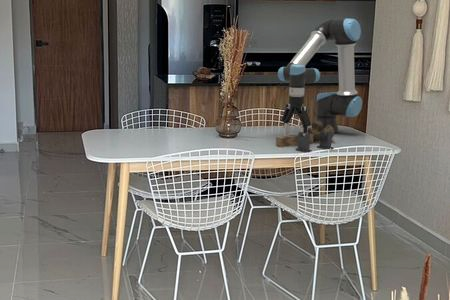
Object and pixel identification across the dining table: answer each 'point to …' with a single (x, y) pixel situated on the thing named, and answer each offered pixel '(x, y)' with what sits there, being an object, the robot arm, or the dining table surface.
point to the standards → (305, 141)
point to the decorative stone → (316, 130)
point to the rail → (290, 140)
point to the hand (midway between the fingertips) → (295, 137)
